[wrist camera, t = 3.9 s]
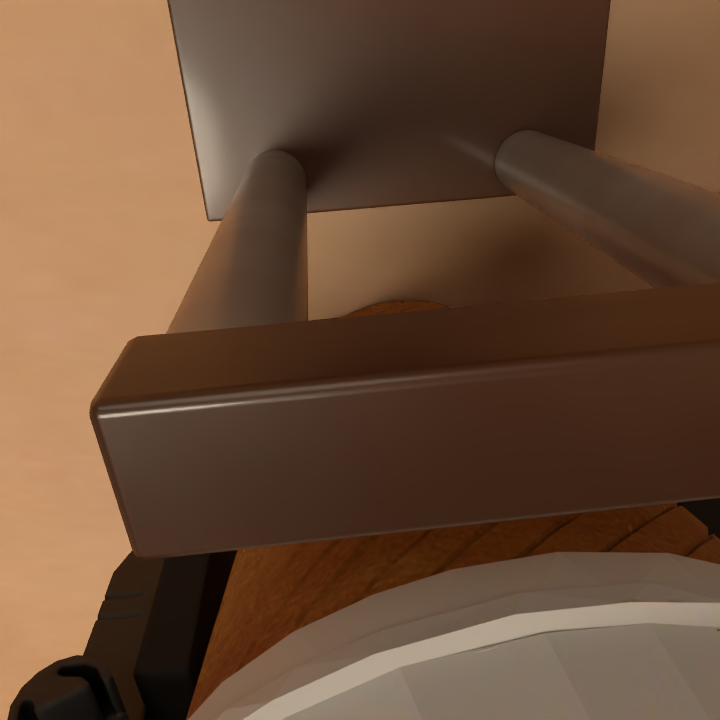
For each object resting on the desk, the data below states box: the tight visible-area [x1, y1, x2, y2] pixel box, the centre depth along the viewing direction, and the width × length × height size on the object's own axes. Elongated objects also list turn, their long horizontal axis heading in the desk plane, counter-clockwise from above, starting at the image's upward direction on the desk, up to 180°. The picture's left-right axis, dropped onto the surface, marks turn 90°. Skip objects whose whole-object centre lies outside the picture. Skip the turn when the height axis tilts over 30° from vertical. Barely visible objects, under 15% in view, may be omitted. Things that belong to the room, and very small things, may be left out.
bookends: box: [89, 0, 720, 560], centre depth 12 cm, size 22×8×11 cm, turn 4°
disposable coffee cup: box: [186, 300, 720, 720], centre depth 11 cm, size 10×10×12 cm
